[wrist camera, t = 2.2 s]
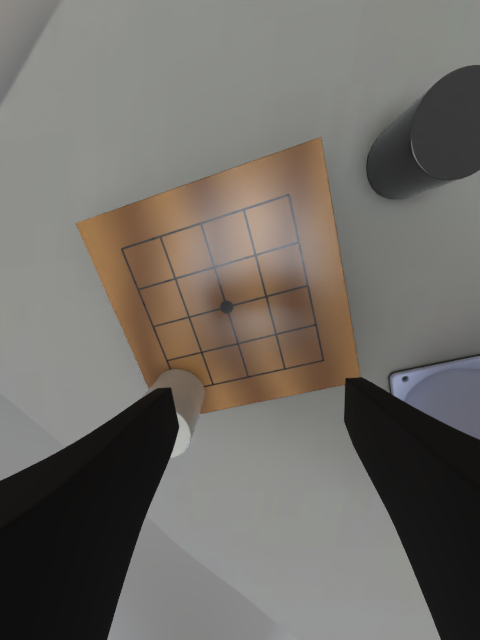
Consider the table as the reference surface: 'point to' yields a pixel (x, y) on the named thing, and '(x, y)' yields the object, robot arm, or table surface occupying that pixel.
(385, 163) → the dark grey cylinder
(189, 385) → the white stone
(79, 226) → the go board
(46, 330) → the table surface
